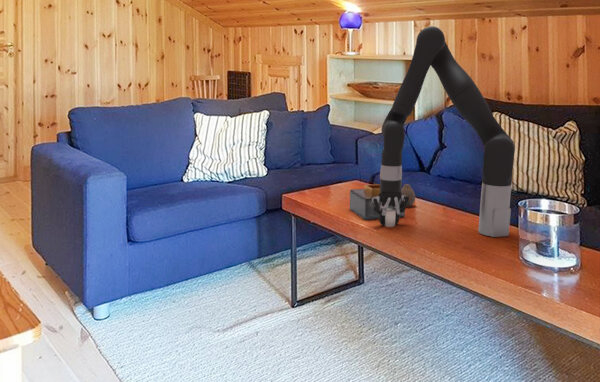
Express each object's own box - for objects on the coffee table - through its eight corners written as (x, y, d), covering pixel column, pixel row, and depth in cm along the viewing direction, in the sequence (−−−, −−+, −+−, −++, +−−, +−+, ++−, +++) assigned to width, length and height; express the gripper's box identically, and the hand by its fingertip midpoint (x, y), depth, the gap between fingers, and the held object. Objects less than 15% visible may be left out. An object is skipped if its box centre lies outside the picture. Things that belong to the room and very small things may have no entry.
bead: (397, 226, 190) (397, 211, 188) (385, 227, 188) (386, 212, 187) (392, 222, 194) (392, 208, 193) (380, 223, 193) (381, 209, 191)
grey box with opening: (404, 217, 201) (405, 189, 199) (364, 220, 197) (365, 192, 195) (383, 204, 220) (384, 179, 217) (346, 207, 215) (347, 181, 213)
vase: (413, 204, 220) (414, 183, 218) (415, 208, 214) (416, 187, 212) (396, 203, 221) (397, 182, 219) (398, 207, 214) (399, 186, 212)
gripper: (376, 180, 182) (374, 229, 186) (414, 178, 186) (412, 225, 189) (367, 176, 189) (366, 223, 193) (404, 174, 193) (402, 220, 196)
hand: (389, 224), depth 191 cm, fingers closed on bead, 4 cm apart
